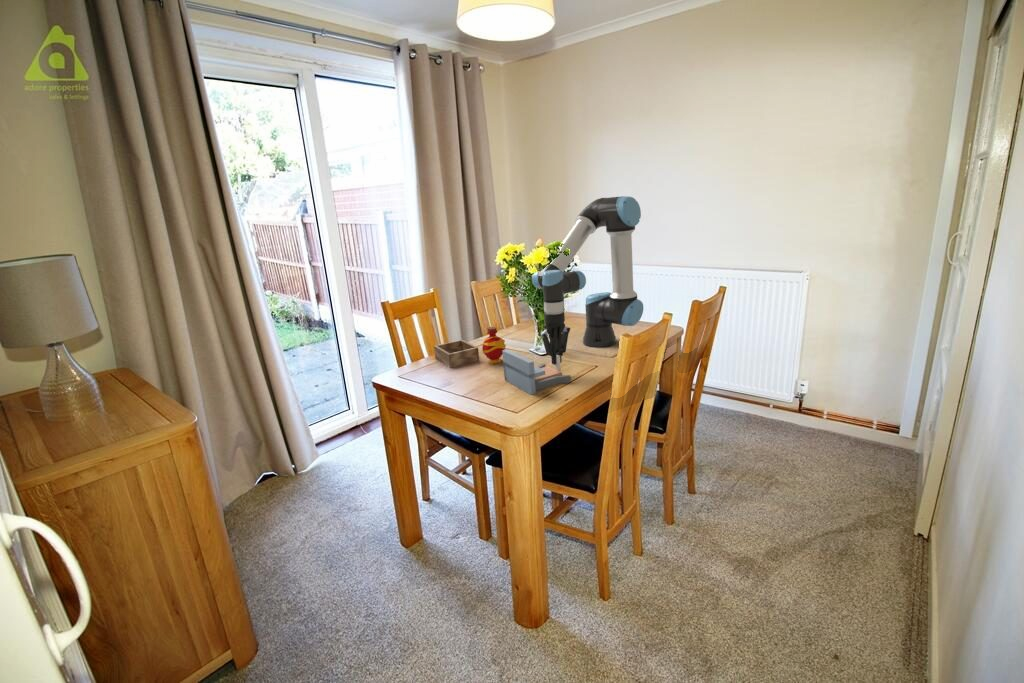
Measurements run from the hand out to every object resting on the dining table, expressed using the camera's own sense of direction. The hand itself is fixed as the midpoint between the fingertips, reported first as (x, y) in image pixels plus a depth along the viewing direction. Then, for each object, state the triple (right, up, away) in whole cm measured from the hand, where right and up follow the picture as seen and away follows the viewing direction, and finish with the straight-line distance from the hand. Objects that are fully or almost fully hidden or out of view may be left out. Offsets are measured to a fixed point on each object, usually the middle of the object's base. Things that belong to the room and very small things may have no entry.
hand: (557, 371), depth 184 cm
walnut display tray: (-42, +4, +29) cm, 51 cm away
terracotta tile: (-6, -3, -2) cm, 7 cm away
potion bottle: (-25, +3, +23) cm, 34 cm away
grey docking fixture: (-8, -3, -4) cm, 9 cm away
